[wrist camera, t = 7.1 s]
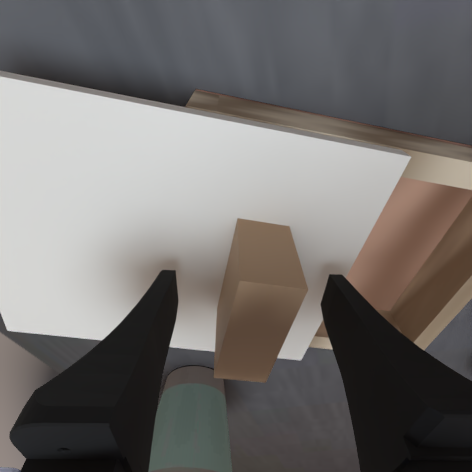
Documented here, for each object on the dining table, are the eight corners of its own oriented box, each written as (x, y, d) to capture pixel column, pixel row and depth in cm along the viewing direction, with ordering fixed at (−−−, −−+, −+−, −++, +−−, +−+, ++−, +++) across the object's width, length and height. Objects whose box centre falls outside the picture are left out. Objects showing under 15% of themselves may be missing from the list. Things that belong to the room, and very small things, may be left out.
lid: (401, 149, 12) (482, 206, 8) (298, 349, 20) (315, 427, 16) (-78, 55, 10) (-274, 70, 6) (15, 319, 18) (-45, 400, 14)
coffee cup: (136, 382, 30) (90, 553, 20) (189, 345, 27) (165, 529, 17) (200, 410, 34) (187, 567, 24) (254, 380, 30) (266, 549, 20)
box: (509, 153, 17) (577, 183, 14) (391, 314, 25) (416, 358, 21) (195, 88, 15) (185, 105, 11) (175, 287, 23) (165, 331, 19)
